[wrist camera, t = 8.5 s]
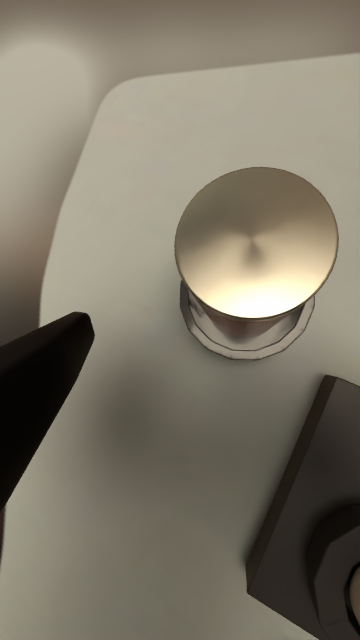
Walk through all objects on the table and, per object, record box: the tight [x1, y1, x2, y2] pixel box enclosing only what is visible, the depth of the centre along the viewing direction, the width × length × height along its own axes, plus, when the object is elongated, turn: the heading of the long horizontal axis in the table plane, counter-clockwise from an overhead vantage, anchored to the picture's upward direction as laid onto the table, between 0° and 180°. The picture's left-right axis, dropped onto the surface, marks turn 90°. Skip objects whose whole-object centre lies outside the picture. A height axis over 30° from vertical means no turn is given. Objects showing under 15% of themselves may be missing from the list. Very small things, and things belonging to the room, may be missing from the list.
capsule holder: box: [180, 280, 315, 360], centre depth 16 cm, size 7×7×4 cm
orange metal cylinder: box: [174, 167, 339, 339], centre depth 12 cm, size 4×4×10 cm
